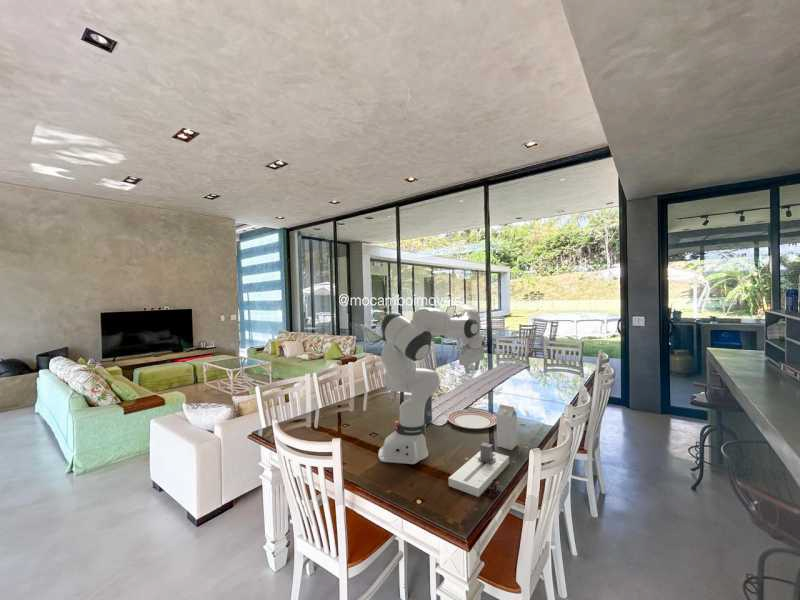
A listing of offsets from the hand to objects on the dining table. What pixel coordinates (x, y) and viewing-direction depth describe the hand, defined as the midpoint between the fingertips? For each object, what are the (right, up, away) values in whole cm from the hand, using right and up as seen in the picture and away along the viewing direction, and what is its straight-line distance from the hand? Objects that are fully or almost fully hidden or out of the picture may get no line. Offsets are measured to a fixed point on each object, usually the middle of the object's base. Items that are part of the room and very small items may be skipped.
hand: (472, 371), depth 164 cm
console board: (-3, -34, -30) cm, 46 cm away
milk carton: (+15, -34, -5) cm, 38 cm away
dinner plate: (+5, -35, +25) cm, 43 cm away
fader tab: (+1, -31, -25) cm, 40 cm away
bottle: (-22, -35, +30) cm, 51 cm away
